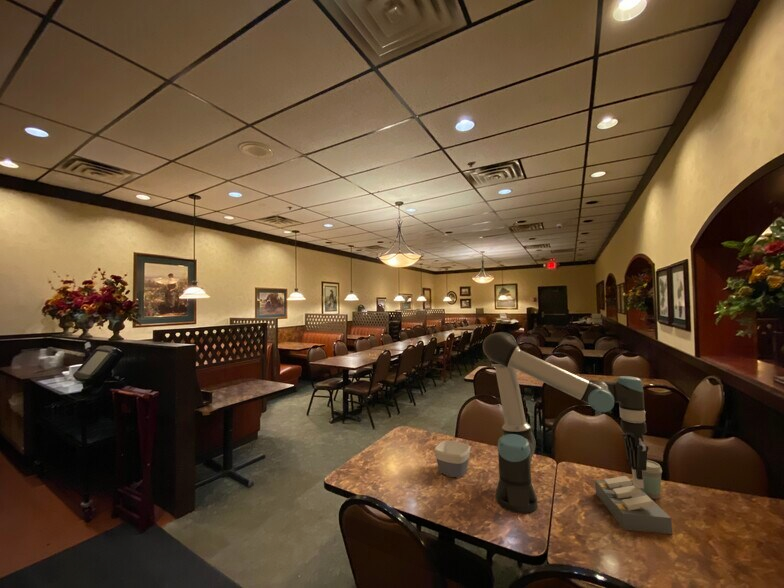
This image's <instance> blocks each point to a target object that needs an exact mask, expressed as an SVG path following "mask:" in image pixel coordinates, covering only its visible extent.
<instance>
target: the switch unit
mask: <svg viewBox="0 0 784 588" xmlns="http://www.w3.org/2000/svg"><path fill="white" fill-rule="evenodd" d="M594 484H595V494H596V495H597V497H598V499H600V501H602V503H603V504H604V506H605V507H606V508H607V509H608V511H609V512H610V514H611V515H612V516H613V518H615V520H616V522H617V523H618V524H619V525H620V526H621V527H622V529H623V530H626V531H639V532H644V533H645V532H647V533H656V534H657V533H659V534H668V535H673V525H672V518H671V515H669V514H668V513H667V512H666V511H664V509H663V508H661V507H660V506H659V504H657V503H656V502H655V501H654V499H653V498H650V497H649V496H648V495H647V494H646V493H644V492H643V491H642V490H641V489H640V488H639V489H640V490H641V491H642V494H643V495H639V496H632V497H633V498H635V497H640V496H645V495H647V496H648V497H649V498H650V499H651V500H652V501H653V504H654V506H651V507H646V508H643V510H640V509H635V510H628V509H627V508H626V507H625V506H624V504H623V502H622V500H624V499H629V497H626V498H618V497H617V496H616V495H615V494H614V492H613V489H615V488H620V487H615V488H609V487H608V486H607V485H606V483H605V480H594ZM627 486H633V482H632V485H627ZM627 486H622V487H627Z"/></svg>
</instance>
